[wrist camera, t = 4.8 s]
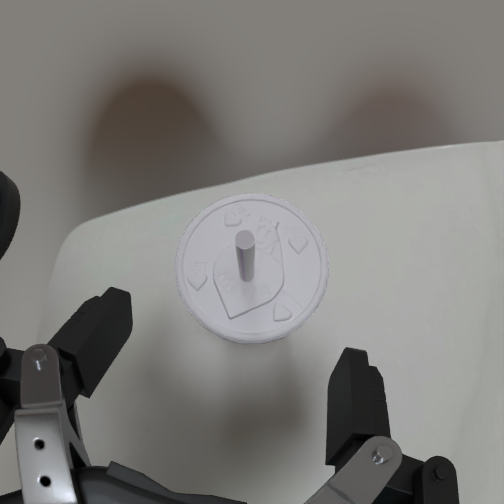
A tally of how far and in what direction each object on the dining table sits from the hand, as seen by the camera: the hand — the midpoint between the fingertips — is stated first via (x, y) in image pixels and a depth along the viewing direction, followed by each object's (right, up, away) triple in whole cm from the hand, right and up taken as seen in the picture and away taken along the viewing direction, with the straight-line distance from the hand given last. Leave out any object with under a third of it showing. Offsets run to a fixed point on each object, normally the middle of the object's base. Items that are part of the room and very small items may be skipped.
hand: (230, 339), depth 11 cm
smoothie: (+1, 0, +11) cm, 11 cm away
